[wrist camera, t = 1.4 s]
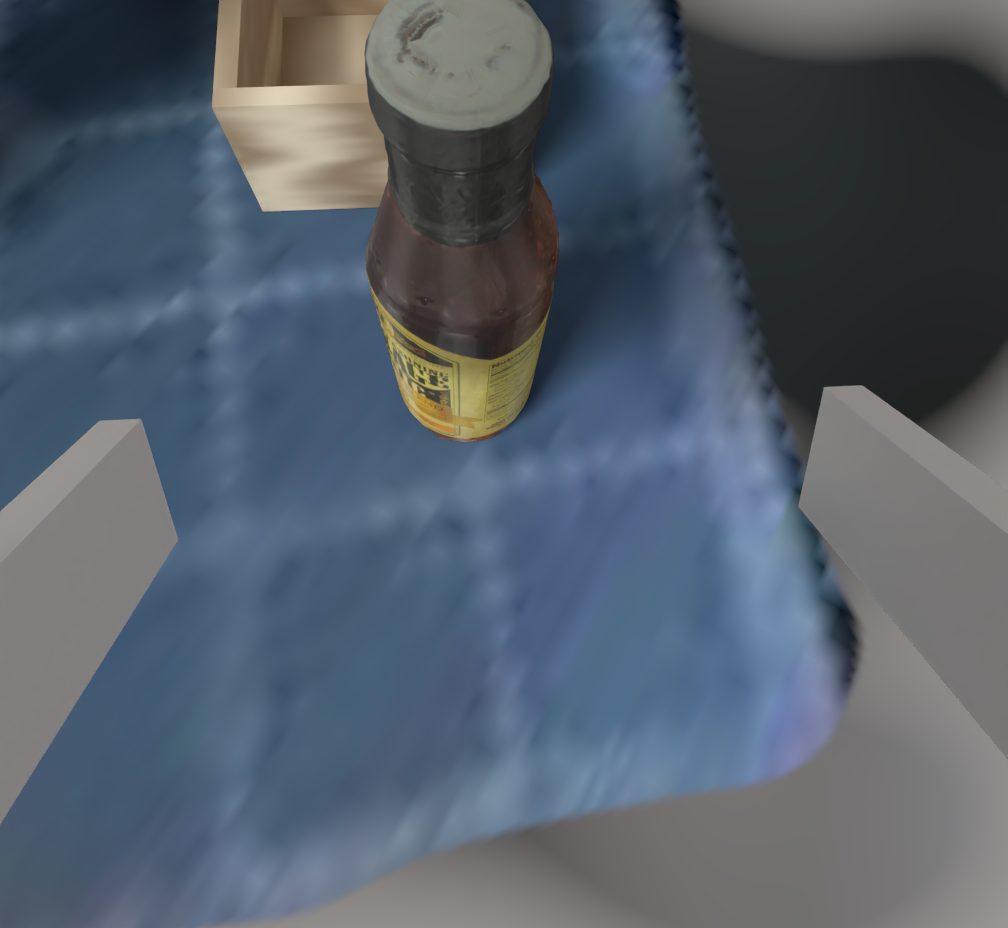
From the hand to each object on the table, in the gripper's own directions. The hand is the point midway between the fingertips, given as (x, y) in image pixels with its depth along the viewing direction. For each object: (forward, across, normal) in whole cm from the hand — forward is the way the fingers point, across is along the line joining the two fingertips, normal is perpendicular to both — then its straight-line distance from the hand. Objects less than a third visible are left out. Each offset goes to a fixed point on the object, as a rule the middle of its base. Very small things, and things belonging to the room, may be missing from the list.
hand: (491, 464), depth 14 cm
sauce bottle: (+19, 0, -6) cm, 20 cm away
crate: (+31, -4, +6) cm, 32 cm away
